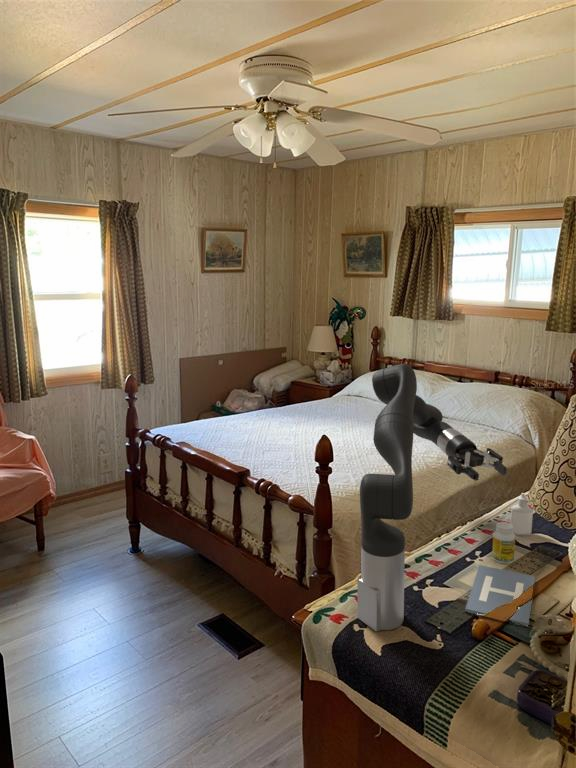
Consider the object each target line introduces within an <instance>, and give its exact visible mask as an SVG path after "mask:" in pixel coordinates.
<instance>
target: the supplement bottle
mask: <svg viewBox="0 0 576 768" xmlns="http://www.w3.org/2000/svg"><path fill="white" fill-rule="evenodd" d="M512 531H513V525H512V524H510V522H507V521H498V522H497V523H496V525H495V530H494V531H493V533H492V552H491V554H492V555H491V557H492V559H493V560H494V561H495V562H496V561H497V562H496V563H498V562H500V563H499V564H502V563H509V564H511V562H512V563H513V562H514V560H515V550H516V549H515V546H516V535H515V534H514V533H513V532H512Z"/></svg>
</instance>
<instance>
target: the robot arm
mask: <svg viewBox="0 0 576 768" xmlns="http://www.w3.org/2000/svg"><path fill="white" fill-rule="evenodd" d="M371 382H372V383H371V384H372V388H373V391H374V394H375V396H376V397H377V399H378V400H379V402H381V403H383V404H385V406H384V407H383V408H382V410H381V411H380V412H379V414H378V415H377V418H376V420H375V423H374V430H373V445H374V447H375V448H376V451H377V452H378V454H379V455H380V456H381V458H382V459H383V460H384V461H385V462H386V463H387V464H388V466H390V468H391V469H392V471H393V473H394V474H386V473H366V474H364V475H363V476H362V478H361V480H360V485H359V503H360V507H359V508H360V523H361V525H360V526H361V530H360V531H361V539H360V540H361V541H360V546H361V547H360V551H361V552H360V561H361V563H360V565H361V567H360V569H361V570H360V576H361V577H360V578H358V579H357V619H358V620H360V621H361V622H362V623H364V624H365V625H367V626H368V627H369V628H370V629H372V630H373V631H374V632H375V633H376V632H379V631H389V630H394V629H396V628H399V627H400V626H402V624H403V623H404V615H405V614H404V613H405V562H406V561H405V559H406V558H405V556H406V554H405V553H406V538H405V535H404V533H403V532H402V530H400V529H399V528H397V527H395V526H393V525H391V524H388V523H387V522H385V521H383V520H393V521H394V520H395V521H396V520H397V521H401V520H407V519H408V518H409V517H410V516H411V513H412V509H413V507H414V506H413V504H414V490H413V489H414V487H413V486H414V485H413V469H412V468H413V465H412V461H413V460H412V458H413V445H414V435H415V436H417V437H419V438H422V439H424V440H427V441H430V442H431V443H433V444H435V446H437V447H438V448H439V449H440V450H441V452H443V453H444V454H445V455H446V456H447V462H446V465H447V466H448V467H449V468H450V469H451V470H452V471H453V472H454V473H455V474H456V475H461V474H464V475H466V476H468V477H469V478H470V479H472V480H473V481H475V482H476V481H479V477H480V474H479V473H478V471H476V470H475V469H474V468H475V467H484V468H488V467H490V468H493V469H495V471H496V472H498V473H499V474H500V475H502V476H505V475H507V469H508V468H507V466H506V465H504V464H503V459H504V457H503V456H502V455H500V454H499V453H498V452H496V451H494V449H492V448H490V447H489V448H488V447H487V448H486V451H482V450H480V449H478V447H477V446H476V443H474V442H473V441H472V440H471V439H470V438H468V437H467V436H465V435H464V434H463V433H462V432H460V431H458V430H456V428H454V427H452V426H451V425H450V424H449V423H447V422H445V421H443V419H444V417H443V413H442V412H441V410H440V409H439V408H437V407H436V406H434V405H431V404H429V403H426V401H425V400H424V399H423V398H422V397H421V396H419V395H418V394H417V391H418V388H417V387H418V385H417V384H418V381H417V375H416V372H415V371H414V369H413V367H412V365H409V364H407V363H399V364H396V365H393V366H388V367H385V368H381V369H379V370H377V371H375V372H374V373H373V375H372V378H371ZM485 459H486V460H485ZM484 461H485V462H484ZM491 462H493V463H491Z"/></svg>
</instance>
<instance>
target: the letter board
mask: <svg viewBox="0 0 576 768" xmlns="http://www.w3.org/2000/svg"><path fill="white" fill-rule="evenodd" d="M534 582H535V583H536V575H531V574H527V573H522V572H515V571H512V570H511V571H510V570H507V569H501V568H496V567H492V566H488V565H487V566H486V565H481V564H479V565H478V569H477V571H476V575H475V577H474V580H473V583H472V587H471V590H470V593H469V596H468V599H467V602H466V605H465V608H464V611H468V612H472V613H476V614H477V613H478V614H487V613H488V612H491V611H492V610H494V609H495V608H496V607H499V606H501V605H504V604H507V603H509V602H511V601H513V600H514V599H516V598H518V597H519V596H520V595H521V594H522V593H523V592H524V591H526V590H527V589H528V588H529V587H530V586H532V585H533V584H534V585H535V583H534ZM531 604H533V599H532V600H531V601H529V602H528V603H526V604H524V605H523V606H521V607H518V609H517V611H516V613H515V614H514V615H513V616H512V617H511V618H510V619H509V620H510V621H512V622H516V623H520V624H523V625H529V626H530V620H531V619H530V618H531V613H530V611H532V605H531ZM529 619H530V620H529Z"/></svg>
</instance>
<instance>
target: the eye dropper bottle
mask: <svg viewBox="0 0 576 768" xmlns="http://www.w3.org/2000/svg"><path fill="white" fill-rule="evenodd" d="M529 506H530V505H528V497H526V496H525V493H524V492H521V494H520V495H519V496H518V497H517V503H516V504H514V505H511V508H510V515H509V516H510V519H509V523H510V524H512V525H513V531H512V532H513V533H514V534H515V536H517V535H518V536H530V535H532V531H533V530H532V529H533V517H534V513H533V512H534V510H533V508H532V507H531V506H530V507H531V508H532V509H531V508H530V507H529Z"/></svg>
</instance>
